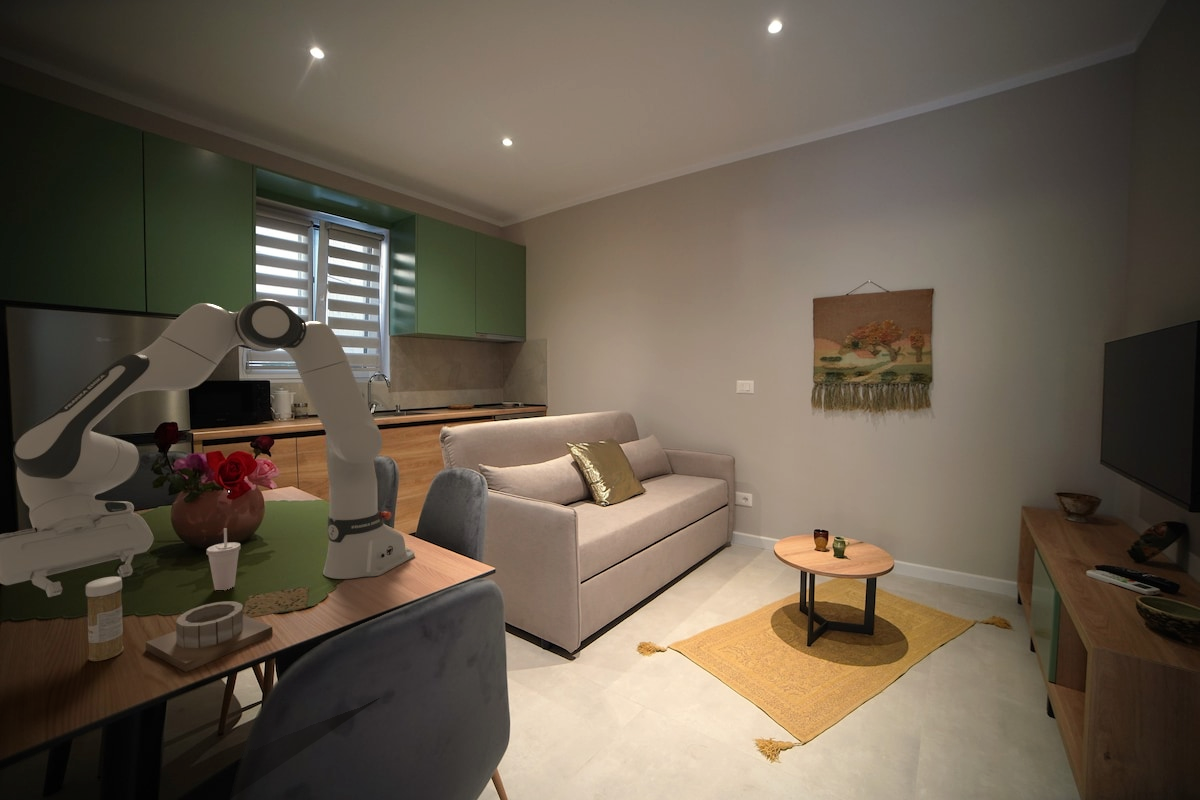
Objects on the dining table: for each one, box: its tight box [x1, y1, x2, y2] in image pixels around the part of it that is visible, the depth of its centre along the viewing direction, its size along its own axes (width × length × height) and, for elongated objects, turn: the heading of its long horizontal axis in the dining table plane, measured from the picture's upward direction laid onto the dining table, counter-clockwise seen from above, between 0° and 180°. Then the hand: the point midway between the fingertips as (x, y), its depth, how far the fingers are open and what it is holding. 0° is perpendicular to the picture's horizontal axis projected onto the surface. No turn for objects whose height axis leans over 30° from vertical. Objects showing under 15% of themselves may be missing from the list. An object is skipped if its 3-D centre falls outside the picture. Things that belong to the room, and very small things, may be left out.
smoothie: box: [205, 527, 241, 591], centre depth 116 cm, size 6×6×14 cm
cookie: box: [243, 586, 310, 619], centre depth 110 cm, size 12×12×1 cm
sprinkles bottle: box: [85, 576, 125, 662], centre depth 88 cm, size 5×5×14 cm
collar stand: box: [145, 600, 274, 673], centre depth 93 cm, size 14×14×6 cm
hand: (93, 584), depth 90 cm, fingers open, 8 cm apart
